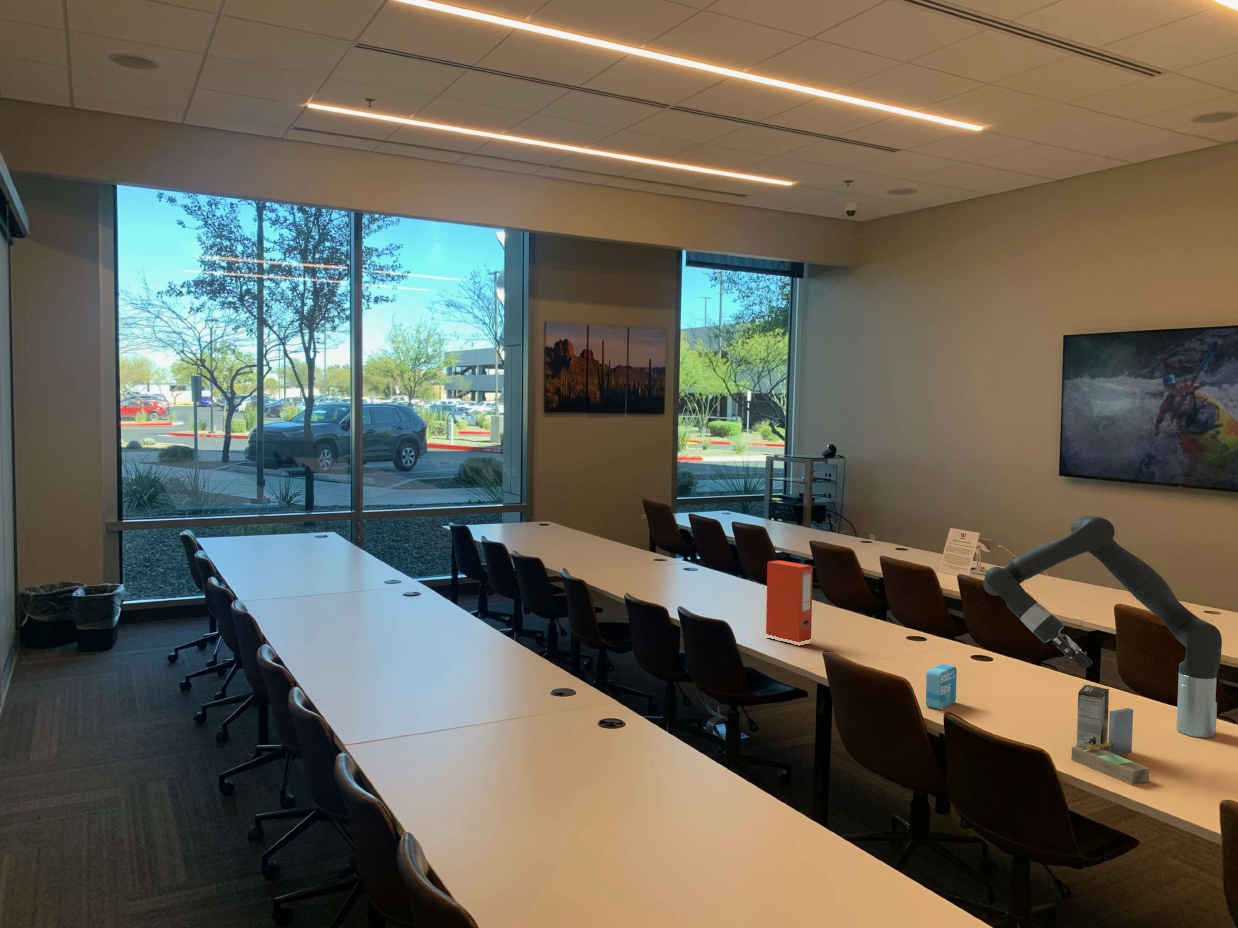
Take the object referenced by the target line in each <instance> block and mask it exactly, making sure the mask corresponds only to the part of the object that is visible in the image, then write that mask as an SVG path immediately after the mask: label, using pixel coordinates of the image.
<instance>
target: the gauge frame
mask: <svg viewBox="0 0 1238 928" xmlns="http://www.w3.org/2000/svg"><path fill="white" fill-rule="evenodd" d="M1088 746H1092V745H1089V744H1085V745H1080V746H1077V745H1076V746H1075V745H1074V746H1071V761H1074V762H1076V763H1078V764H1081V765H1082V766H1086V767H1088V768H1090V769H1092V770H1095V771H1097V772H1099V773H1101V774H1102V773H1103V774H1104V775H1106V776H1109V777H1110V778H1113V777H1114V778H1113V779H1116V780H1118V779H1119V780H1118V781H1120V780H1121V782H1123V781H1124V782H1123V783H1125V782H1127V783H1129V784H1128V785H1130V784H1131V785H1130V786H1135V785H1134V784H1137V785H1140V783H1141V784H1145V783H1144V782H1146V783H1149V782H1150V768H1149V767H1147V766H1145V765H1142V764H1139V763H1138V762H1134V761H1131V760H1130V759H1127V758H1124V757H1122V756H1121V755H1120V756H1117V755H1115V754H1112V753H1110V752H1108V751H1107V750H1105V749H1104V750H1102V749H1100V748H1095V749H1090V750H1089V749H1087V747H1088ZM1127 783H1126V784H1127Z"/></svg>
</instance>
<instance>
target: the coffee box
mask: <svg viewBox="0 0 1238 928" xmlns="http://www.w3.org/2000/svg"><path fill="white" fill-rule="evenodd" d="M1109 693H1110V689H1109V688H1104V687H1100V686H1096V685H1090V684H1084V685H1083V686H1082V687H1081V689H1080V690H1079V691H1078V692H1077V694H1078V696H1077V720H1076V722H1077V723H1076V746H1080V745H1085V744H1089V745H1092V746H1093V745H1098V744H1104V743H1109V704H1110V703H1109V699H1110V697H1109V695H1110V694H1109ZM1105 748H1106V747H1100V749H1102V750H1105Z"/></svg>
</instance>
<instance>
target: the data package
mask: <svg viewBox="0 0 1238 928" xmlns="http://www.w3.org/2000/svg"><path fill="white" fill-rule="evenodd" d="M957 670H958V669H957V667H956V666H952V665H949V664H943V663H941V664H939V665H937V666H934V667H932V668H929V669H928V670H926V675H925V679H926V680H925V681H926V682H925V684H926V685H925V705H926V707H928V708H931V707H932V709H935V708H937V709H936V710H939V709H941V708H943V709H945V708H947V707H949V706H951V705H953V704H955V703H954V702H956V699H957V675H958V673H957ZM952 703H953V704H952ZM950 704H951V705H950ZM948 705H949V706H948ZM946 706H947V707H946ZM944 707H945V708H944ZM941 710H942V709H941Z"/></svg>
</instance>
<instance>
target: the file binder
mask: <svg viewBox="0 0 1238 928" xmlns="http://www.w3.org/2000/svg"><path fill="white" fill-rule="evenodd" d="M766 565H767V566H766V567H767V568H766V570H767V571H766V574H767V575H766V612H765V613H766V614H765V615H766V617H765V620H766V621H765V622H766V625H765V626H766V627H765V628H766V629H765V635H766V634H768V635H772V636H776V637H779V638H783V639H788V640H792V641H796V642H801V641H805V640H809V639H811V640H812V621H813V619H812V618H813V617H812V613H813V609H812V608H813V577H814V576H813V575H814V574H813V572H814V571H813V570H814V569H813V568H814V566H813V565H811V564H810V565H809V564H803V563H798V562H790V561H786V560H771V561H767V564H766Z"/></svg>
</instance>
